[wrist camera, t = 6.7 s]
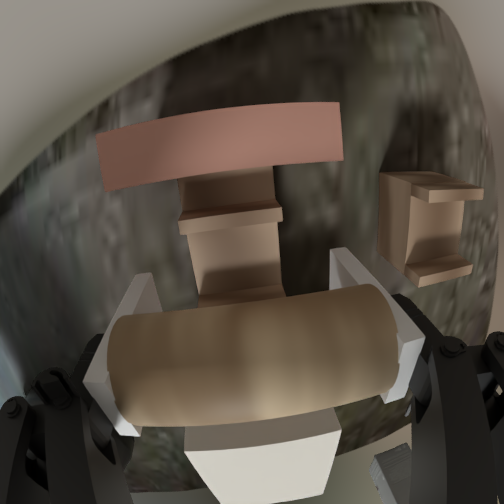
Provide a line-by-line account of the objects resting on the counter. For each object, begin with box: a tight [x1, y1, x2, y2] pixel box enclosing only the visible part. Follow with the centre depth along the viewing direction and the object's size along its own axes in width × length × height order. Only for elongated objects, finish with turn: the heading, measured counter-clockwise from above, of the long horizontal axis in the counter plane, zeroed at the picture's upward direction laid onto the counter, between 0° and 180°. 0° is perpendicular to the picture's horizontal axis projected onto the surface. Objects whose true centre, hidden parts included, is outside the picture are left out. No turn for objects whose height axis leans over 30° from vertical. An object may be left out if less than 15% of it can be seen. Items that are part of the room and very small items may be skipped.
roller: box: [107, 284, 400, 426], centre depth 9 cm, size 8×4×4 cm, turn 96°
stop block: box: [96, 102, 343, 192], centre depth 13 cm, size 8×2×9 cm, turn 96°
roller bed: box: [177, 166, 286, 308], centre depth 20 cm, size 8×30×7 cm, turn 6°
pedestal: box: [377, 171, 484, 287], centre depth 17 cm, size 5×6×6 cm
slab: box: [184, 407, 342, 504], centre depth 17 cm, size 9×13×3 cm
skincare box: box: [369, 443, 412, 504], centre depth 30 cm, size 8×7×16 cm
